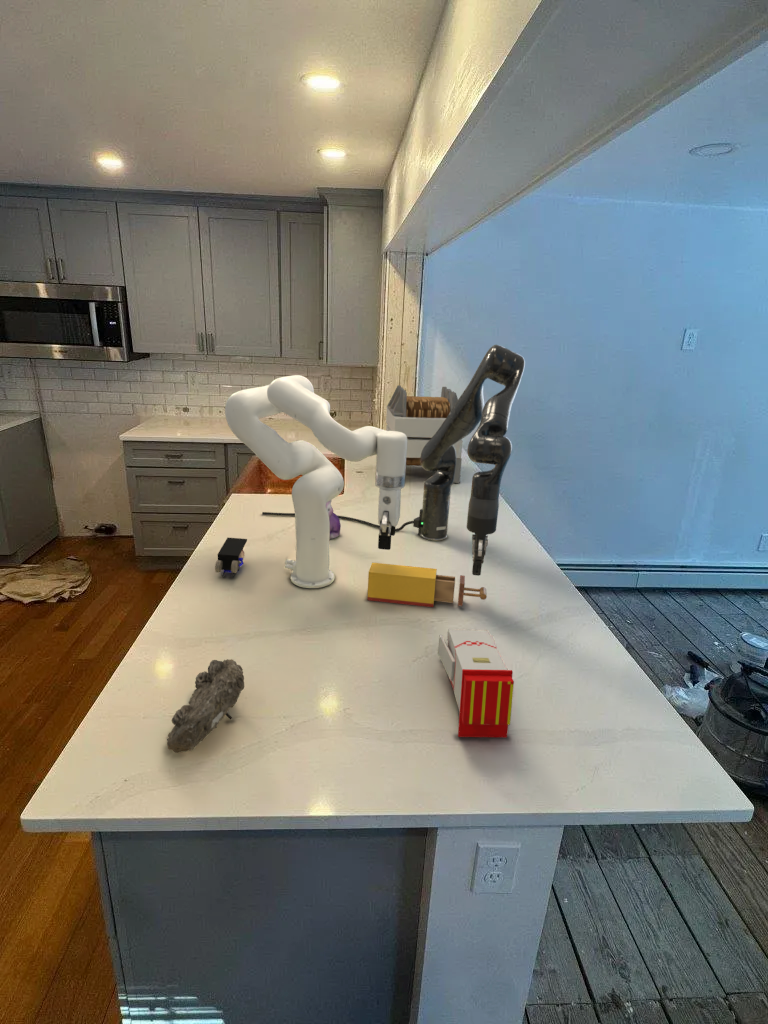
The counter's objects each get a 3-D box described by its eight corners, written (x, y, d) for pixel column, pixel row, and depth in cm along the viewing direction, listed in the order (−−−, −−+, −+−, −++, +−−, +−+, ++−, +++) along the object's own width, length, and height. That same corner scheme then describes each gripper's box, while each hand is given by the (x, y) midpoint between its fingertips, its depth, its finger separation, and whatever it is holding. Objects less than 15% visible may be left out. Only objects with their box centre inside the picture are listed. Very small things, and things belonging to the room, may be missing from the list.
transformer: (382, 463, 289) (386, 382, 275) (445, 464, 293) (451, 384, 279) (390, 482, 257) (394, 392, 243) (460, 483, 261) (468, 394, 247)
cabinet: (434, 596, 157) (436, 568, 155) (433, 607, 152) (435, 578, 149) (371, 589, 160) (372, 562, 157) (367, 600, 154) (368, 572, 151)
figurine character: (238, 584, 162) (249, 557, 175) (236, 562, 158) (247, 536, 172) (215, 584, 161) (227, 556, 175) (212, 561, 158) (225, 535, 171)
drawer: (484, 599, 155) (487, 577, 153) (485, 608, 150) (488, 586, 148) (402, 591, 158) (403, 569, 155) (400, 599, 153) (401, 577, 151)
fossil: (192, 660, 117) (244, 628, 112) (224, 691, 120) (276, 661, 115) (142, 746, 98) (202, 712, 93) (182, 779, 101) (242, 748, 96)
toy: (488, 613, 130) (523, 677, 101) (484, 667, 133) (517, 744, 104) (435, 612, 130) (455, 676, 101) (432, 666, 133) (451, 743, 103)
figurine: (320, 542, 189) (321, 500, 184) (310, 531, 198) (309, 490, 193) (346, 538, 193) (347, 496, 188) (335, 528, 202) (335, 488, 197)
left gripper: (401, 491, 136) (397, 556, 142) (408, 472, 152) (404, 531, 158) (370, 488, 137) (367, 553, 143) (380, 470, 153) (377, 528, 159)
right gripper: (499, 523, 138) (491, 586, 144) (496, 505, 150) (489, 565, 156) (468, 520, 139) (461, 583, 144) (468, 503, 151) (462, 562, 157)
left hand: (386, 541), depth 151 cm, fingers open, 9 cm apart
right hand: (476, 574), depth 150 cm, fingers closed
